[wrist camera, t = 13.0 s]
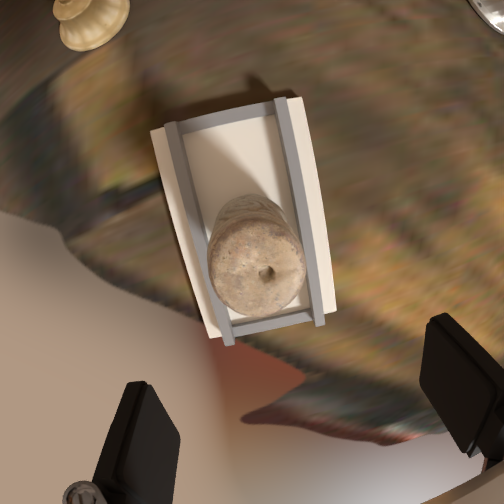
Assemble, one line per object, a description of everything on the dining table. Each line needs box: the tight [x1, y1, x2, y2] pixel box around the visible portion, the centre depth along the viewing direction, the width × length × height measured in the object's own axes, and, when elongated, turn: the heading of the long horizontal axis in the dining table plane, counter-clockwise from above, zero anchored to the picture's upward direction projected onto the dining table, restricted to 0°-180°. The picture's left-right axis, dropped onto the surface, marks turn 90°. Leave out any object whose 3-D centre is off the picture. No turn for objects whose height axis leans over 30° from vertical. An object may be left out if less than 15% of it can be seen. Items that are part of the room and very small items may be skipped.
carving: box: [207, 194, 307, 317], centre depth 24 cm, size 6×8×12 cm
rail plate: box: [150, 97, 336, 346], centre depth 29 cm, size 22×14×3 cm, turn 12°
